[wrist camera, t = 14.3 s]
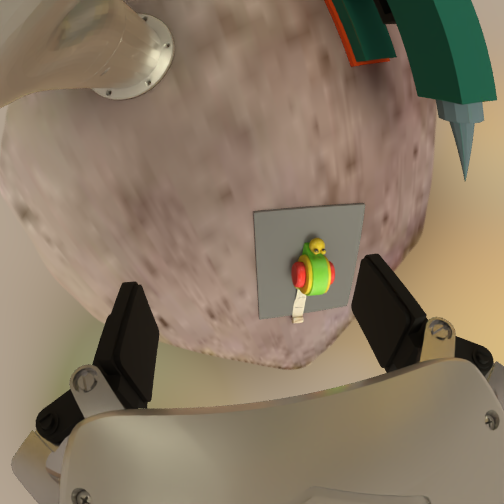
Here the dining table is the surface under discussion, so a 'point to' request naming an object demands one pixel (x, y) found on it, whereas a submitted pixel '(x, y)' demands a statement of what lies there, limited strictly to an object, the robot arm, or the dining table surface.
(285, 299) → the mat
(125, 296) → the robot arm
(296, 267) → the toy measuring tape
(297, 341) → the dining table surface
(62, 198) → the dining table surface
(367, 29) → the power tool
